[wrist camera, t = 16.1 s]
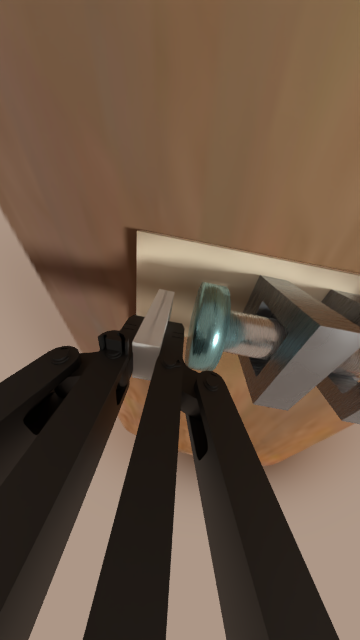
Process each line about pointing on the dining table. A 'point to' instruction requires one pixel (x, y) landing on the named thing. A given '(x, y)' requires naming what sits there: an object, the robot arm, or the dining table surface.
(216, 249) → the board
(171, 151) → the dining table surface
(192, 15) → the dining table surface
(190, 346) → the shaft
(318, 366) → the grey angular blocks
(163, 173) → the dining table surface
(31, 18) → the dining table surface
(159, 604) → the robot arm
